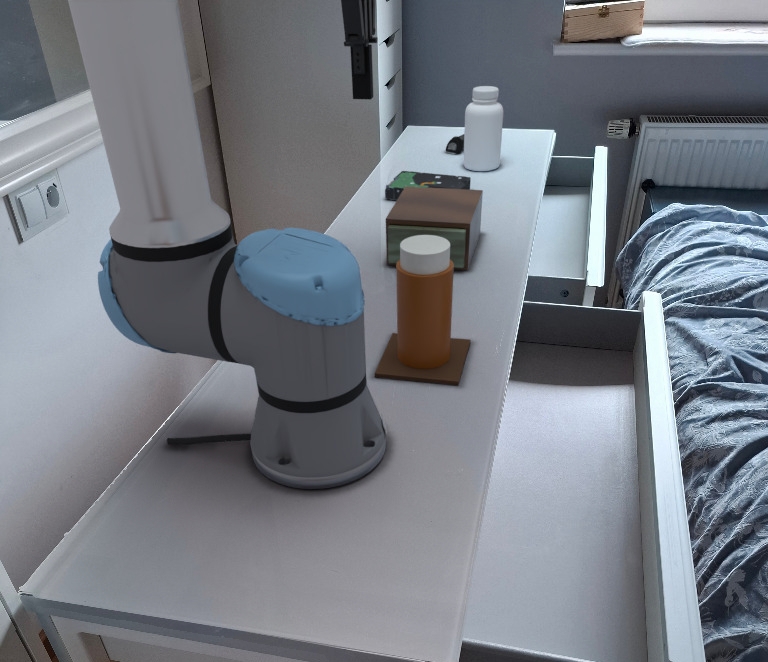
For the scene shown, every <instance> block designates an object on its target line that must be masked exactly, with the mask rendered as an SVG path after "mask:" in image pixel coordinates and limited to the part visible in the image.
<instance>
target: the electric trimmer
mask: <svg viewBox="0 0 768 662" xmlns="http://www.w3.org/2000/svg"><path fill="white" fill-rule="evenodd" d="M462 150H464V133H463V134H461V135H458V136H457V135H456V136H453V137H452V138H451V139H450V140H449V141H448V142H447V144H446V147H445V152H446V153H447V154H449V155H450V154H452V155H456V154H457V155H459V154H460V153H461V151H462Z"/></svg>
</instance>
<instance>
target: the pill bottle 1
mask: <svg viewBox="0 0 768 662" xmlns="http://www.w3.org/2000/svg"><path fill="white" fill-rule="evenodd" d="M453 268H454V264H453V262H452V260H450V242H449V241H448V240H447V239H445V238H443V237H439V236H434V235H417V236H412V237H409V238H406V239H404V240H403V241H402V242H401V244H400V260H399V261H398V262H397V264H396V266H395V272H396V274H395V275H396V276H395V277H396V279H395V280H396V333H397V342H398V359H399V360H400V362H401V363H403V364H404V365H406V366H409V367H412V368H417V369H431V368H436V367H439V366H441V365H443V364H445V363H446V362H447V361H448V360H449V358H450V345H451V338H452V319H453V318H452V317H453V293H454V270H453Z"/></svg>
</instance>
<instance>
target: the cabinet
mask: <svg viewBox="0 0 768 662" xmlns="http://www.w3.org/2000/svg"><path fill="white" fill-rule="evenodd" d="M483 193H484V190H483V189H470V190H467V189H446V188H425V187H405V188H404V190H403V191H402V193H401V194H400V196H399V198H398V199H397V200H395V203H394V204H393V206H392V208H391V209H390V211H389V212H388V214H387V215H386V217H385V243H386V244H385V246H386V249H385V251H386V266H395V267H396V264H397V263H389V260H388V226H389V225H395V224H399V225H417V226H434V227H452V228H465V229H466V243H465V263H464V267H463V268H458V267H454V268H453V271H454V270H455V271H468V270H469V268H470V265H471V262H472V260H473V256H474V254H475V250H476V247H477V244H478V242H479V239H480V236H481V225H482V211H483Z"/></svg>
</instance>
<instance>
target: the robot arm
mask: <svg viewBox="0 0 768 662" xmlns="http://www.w3.org/2000/svg"><path fill="white" fill-rule="evenodd" d="M376 2H377V1H376V0H340V3H341V12H342V13H341V14H342V21H343V30H344V31H343V32H344V41H343V46H344V47H349V48H350V49H349V50H350V69H351V87H352V90H351V91H352V99H353V100H369V101H370V100H373V98H374V72H373V44H377V43H378V39H379V38H378V37H376V36H375V35H376V30H377V29H376ZM67 3H68V7H69V10H70V15H71V19H72V23H73V27H74V30H75V35H76V38H77V42H78V46H79V51H80V54H81V58H82V62H83V66H84V70H85V73H86V74H85V75H86V78H87V81H88V86H89V91H90V94H91V98H92V102H93V106H94V110H95V114H96V118H97V122H98V126H99V130H100V133H101V137H102V142H103V146H104V150H105V153H106V158H107V162H108V166H109V170H110V174H111V178H112V181H113V186H114V190H115V193H116V198H117V201H118V205H119V211H118V213H117V215H115V218H113V220H112V222H111V223H110V225H109V228H108V231H109V232H108V233H109V235H110V239H109V240H108V242H106V244H105V246H104V247H103V249H102V251H101V254H100V258H99V264H100V266H101V267H102V270H100V271H98V272H97V286H98V292H99V296H100V297H99V298H100V301H101V303H102V306H103V309H104V311H105V313H106V315H107V317H108V319H109V320H110V322H111V323H112V325H113V326H114V327H115V328H116V329H117V331H118V332H119V333H120V334H121V335H123V336H124V337H125V338H126V339H128V340H129V341H131V342H133V343H135V344H137V345H140V346H144V347H147V348H151V349H153V350H157V351H159V352H161V353H166V354H182V355H187V356H192V357H199V358H204V359H210V360H214V361H215V360H216V361H222V362H227V363H232V364H239V365H244V366H249V367H251V368H253V370H254V375H255V381H256V385H257V386H256V387H257V394H258V396H257V397H258V398H257V402H256V407H255V408H256V409H255V412H254V418H253V422H252V426H251V427H252V428H251V432H250V433H249V432H248V433H231V434H229V433H228V434H214V435H203V436H190V437H167V438H166V444H167V445H170V446H185V445H201V444H211V443H212V444H213V443H226V442H227V443H228V442H245V441H250V449H251V454H252V459H253V463H254V464H255V466H256V467H257V469H258V471H259V472H260V473H261V474H263V475H264V477H266V478H267V479H269V480H271V481H273V482H275V483H278V484H280V485H282V486H286V487H291V488H295V489H303V490H322V489H329V488H330V489H331V488H335V487H339V486H343V485H347V484H350V483H352V482H354V481H356V480H358V479H361V478H363V477H364V476H366V475H368V474H369V473H370V472H371V471H373V469H375V468H376V467H377V466H378V465H379V463H380V462H381V461H382V460H383V457H384V455H385V453H386V448H387V442H386V441H387V438H386V436H387V437H388V431H387V425H386V422H385V419H384V417H383V414H382V413H380V412H379V410H378V407H377V405H376V403H375V400H374V398H373V396H372V393H371V391H370V388H369V386H368V382H367V381H368V380H367V358H366V355H367V354H366V335H365V334H366V333H365V331H366V330H365V302H366V301H365V293H364V291H363V290H364V289H363V285H362V284H363V283H362V277H361V269H360V265H359V262H358V260H357V257H356V256H355V255H354V254H353V253H352V251H351V250H350V249H349V248H348V246H346V245H345V244H344V243H343V242H342V241H340V240H339V239H336V238H334V237H333V236H330V235H328V234H326V233H323V232H319V231H315V230H311V229H306V228H299V227H284V228H283V229H277V228H274V227H273V228H266V229H262V230H261V229H260V230H257V231H255V232H251V233H250V234H248V235H246V236H245V237H244V238H242V240H240V242H238V244H236V243H235V240H234V234H233V233H234V232H233V229H232V222H231V218H230V217H231V216H230V214H229V213H228V212H227V211H226V210H224V209H223V208H222V207H221V206H220V205H218V204H217V203H216V202H214V200H213V199H212V197H211V191H210V184H209V179H208V178H209V177H208V172H207V167H206V161H205V154H204V150H203V143H202V137H201V130H200V126H199V125H200V124H199V119H198V113H197V107H196V102H195V101H196V100H195V95H194V91H193V90H194V89H193V84H192V78H191V72H190V66H189V61H188V54H187V49H186V43H185V42H186V41H185V37H184V36H185V35H184V31H183V24H182V19H181V18H182V17H181V13H180V6H179V1H178V0H67ZM374 36H375V37H374Z"/></svg>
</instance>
